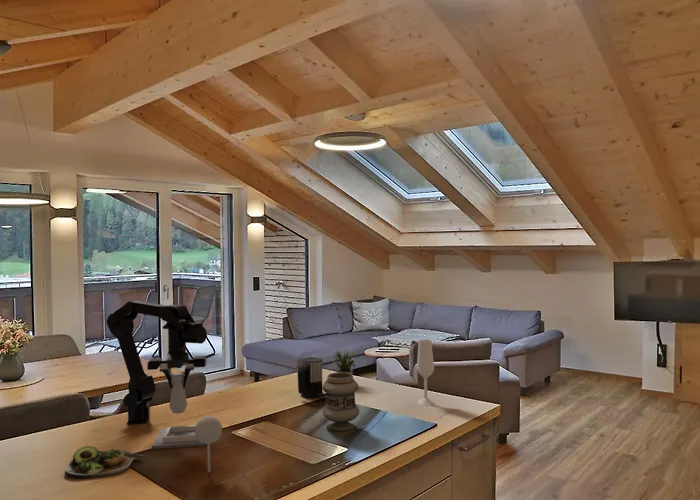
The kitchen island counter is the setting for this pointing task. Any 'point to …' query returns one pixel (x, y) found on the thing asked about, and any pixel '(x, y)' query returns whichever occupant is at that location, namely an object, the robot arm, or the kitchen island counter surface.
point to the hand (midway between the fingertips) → (178, 388)
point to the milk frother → (310, 378)
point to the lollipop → (208, 432)
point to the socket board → (177, 437)
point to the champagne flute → (425, 366)
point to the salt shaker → (178, 394)
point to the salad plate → (98, 462)
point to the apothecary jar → (340, 402)
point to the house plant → (344, 362)
